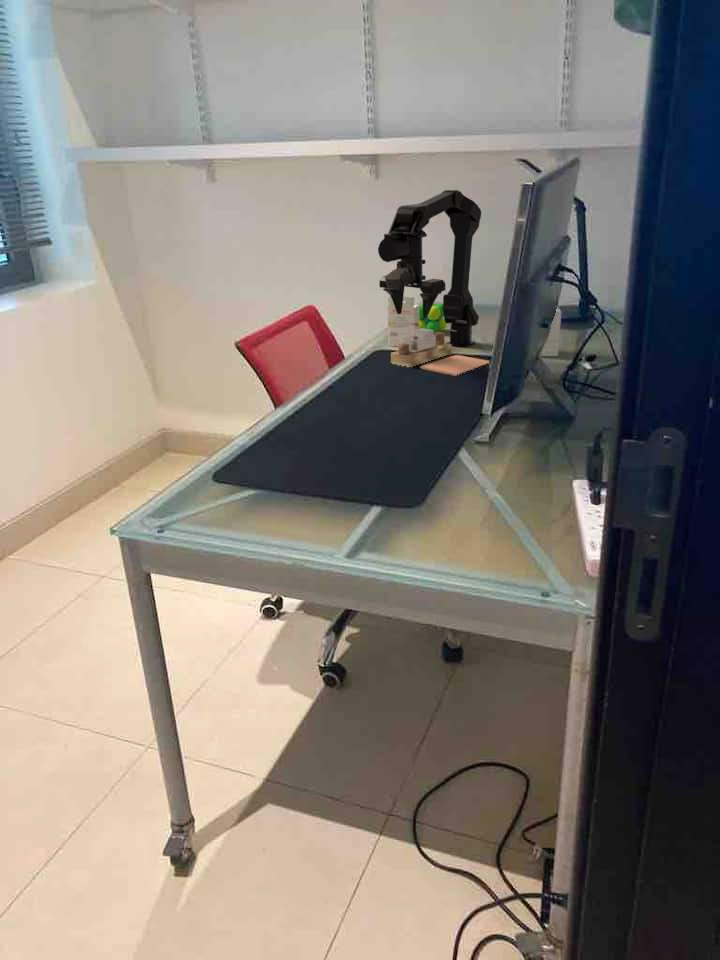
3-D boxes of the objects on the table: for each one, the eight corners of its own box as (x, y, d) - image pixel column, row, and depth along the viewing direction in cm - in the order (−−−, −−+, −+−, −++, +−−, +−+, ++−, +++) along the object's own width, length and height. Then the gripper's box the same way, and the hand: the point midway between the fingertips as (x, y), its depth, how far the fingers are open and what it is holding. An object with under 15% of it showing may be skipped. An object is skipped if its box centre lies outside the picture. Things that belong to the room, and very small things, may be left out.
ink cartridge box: (419, 344, 229) (420, 294, 223) (414, 347, 225) (415, 297, 219) (393, 342, 232) (392, 293, 226) (387, 346, 228) (387, 296, 222)
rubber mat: (456, 356, 214) (456, 354, 214) (491, 363, 206) (492, 361, 206) (420, 368, 203) (420, 366, 203) (456, 376, 196) (456, 373, 195)
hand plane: (431, 351, 221) (432, 330, 218) (451, 354, 216) (451, 333, 214) (390, 363, 209) (390, 342, 206) (410, 367, 204) (410, 345, 202)
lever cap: (421, 343, 215) (421, 327, 213) (435, 346, 211) (435, 329, 210) (403, 348, 209) (403, 332, 207) (417, 351, 206) (417, 335, 204)
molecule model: (436, 336, 239) (448, 330, 245) (436, 308, 235) (449, 303, 242) (411, 333, 243) (424, 328, 250) (411, 305, 240) (424, 301, 246)
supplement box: (554, 350, 218) (558, 306, 213) (558, 357, 211) (562, 311, 206) (528, 350, 219) (531, 306, 214) (531, 357, 212) (534, 311, 207)
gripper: (364, 258, 200) (366, 317, 207) (419, 263, 188) (419, 326, 195) (392, 252, 207) (393, 310, 214) (446, 257, 195) (446, 318, 202)
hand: (412, 316), depth 206 cm, fingers open, 9 cm apart
